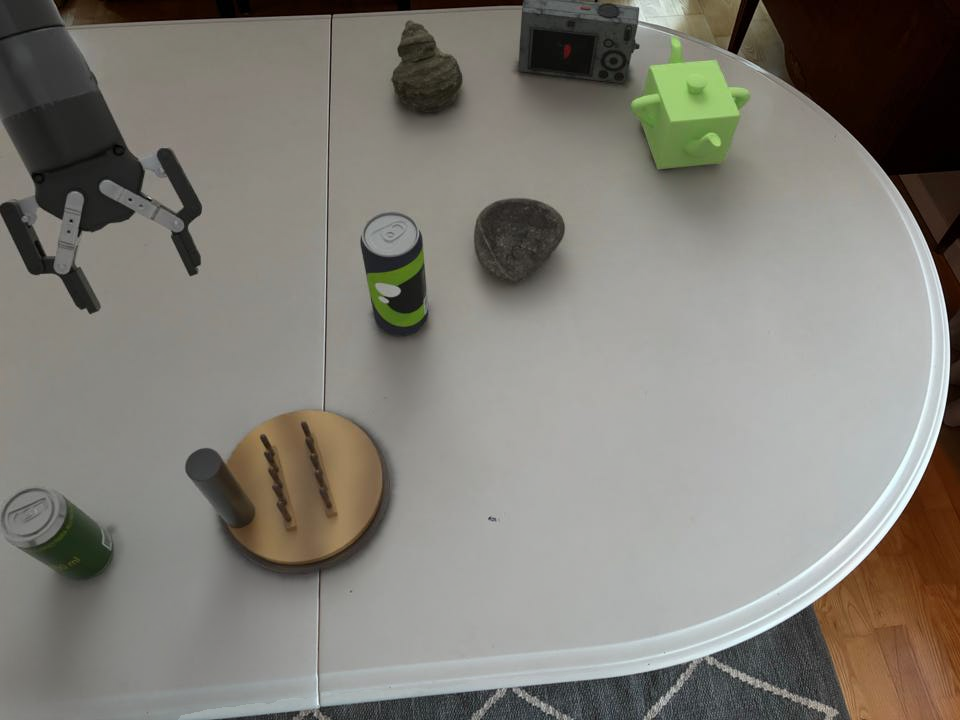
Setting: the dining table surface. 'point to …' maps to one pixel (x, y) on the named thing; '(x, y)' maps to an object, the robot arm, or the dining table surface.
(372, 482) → the dish rack
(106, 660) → the dining table surface
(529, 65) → the camera
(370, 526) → the base
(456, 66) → the seashell
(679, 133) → the teapot
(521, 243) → the stone
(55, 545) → the beer can
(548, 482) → the dining table surface
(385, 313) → the beverage can
